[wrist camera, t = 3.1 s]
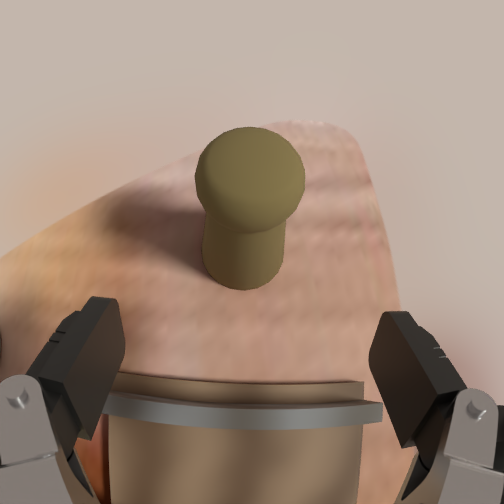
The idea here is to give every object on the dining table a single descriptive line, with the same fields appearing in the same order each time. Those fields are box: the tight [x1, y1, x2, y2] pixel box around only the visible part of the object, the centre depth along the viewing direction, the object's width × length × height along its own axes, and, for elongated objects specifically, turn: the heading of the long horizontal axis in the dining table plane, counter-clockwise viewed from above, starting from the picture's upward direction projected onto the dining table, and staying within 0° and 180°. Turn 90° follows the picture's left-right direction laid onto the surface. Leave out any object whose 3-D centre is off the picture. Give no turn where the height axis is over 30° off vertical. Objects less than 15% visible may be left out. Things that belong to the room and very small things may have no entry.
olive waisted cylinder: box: [195, 127, 305, 290], centre depth 19 cm, size 6×6×11 cm
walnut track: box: [102, 372, 383, 504], centre depth 16 cm, size 17×13×4 cm
